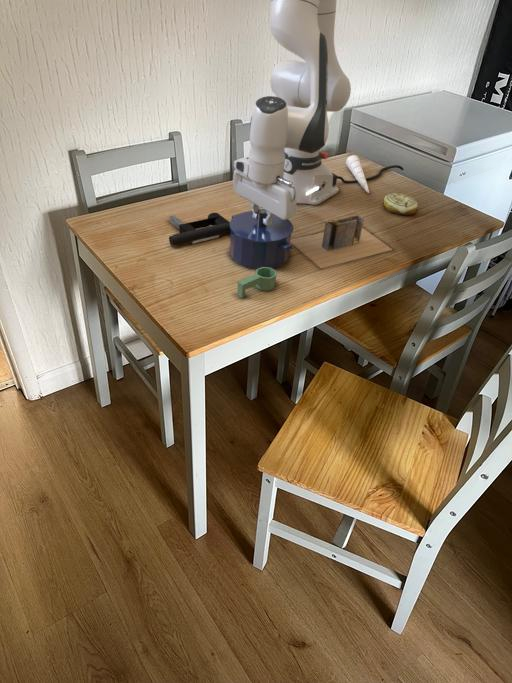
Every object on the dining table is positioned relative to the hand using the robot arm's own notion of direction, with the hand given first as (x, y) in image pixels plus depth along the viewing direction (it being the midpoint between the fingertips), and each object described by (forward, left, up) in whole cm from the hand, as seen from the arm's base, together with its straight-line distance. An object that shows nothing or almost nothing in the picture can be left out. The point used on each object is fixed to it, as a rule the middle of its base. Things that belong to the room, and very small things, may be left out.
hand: (261, 221), depth 140 cm
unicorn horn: (-64, -17, -10) cm, 67 cm away
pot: (0, 0, -10) cm, 10 cm away
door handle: (+6, -21, -10) cm, 24 cm away
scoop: (+12, +12, -10) cm, 20 cm away
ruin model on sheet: (-22, +10, -10) cm, 26 cm away
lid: (0, 0, -2) cm, 2 cm away
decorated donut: (-56, +6, -10) cm, 57 cm away
